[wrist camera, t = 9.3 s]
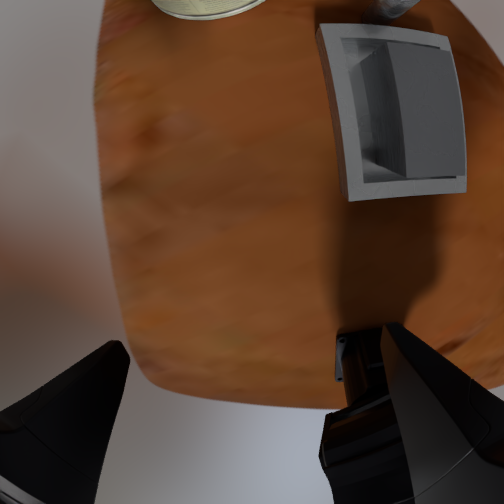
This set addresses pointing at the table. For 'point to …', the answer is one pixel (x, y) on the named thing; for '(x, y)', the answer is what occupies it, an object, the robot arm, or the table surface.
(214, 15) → the coffee can
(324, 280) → the table surface
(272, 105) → the table surface
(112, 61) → the table surface
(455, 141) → the block
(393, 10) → the keeper cradle
